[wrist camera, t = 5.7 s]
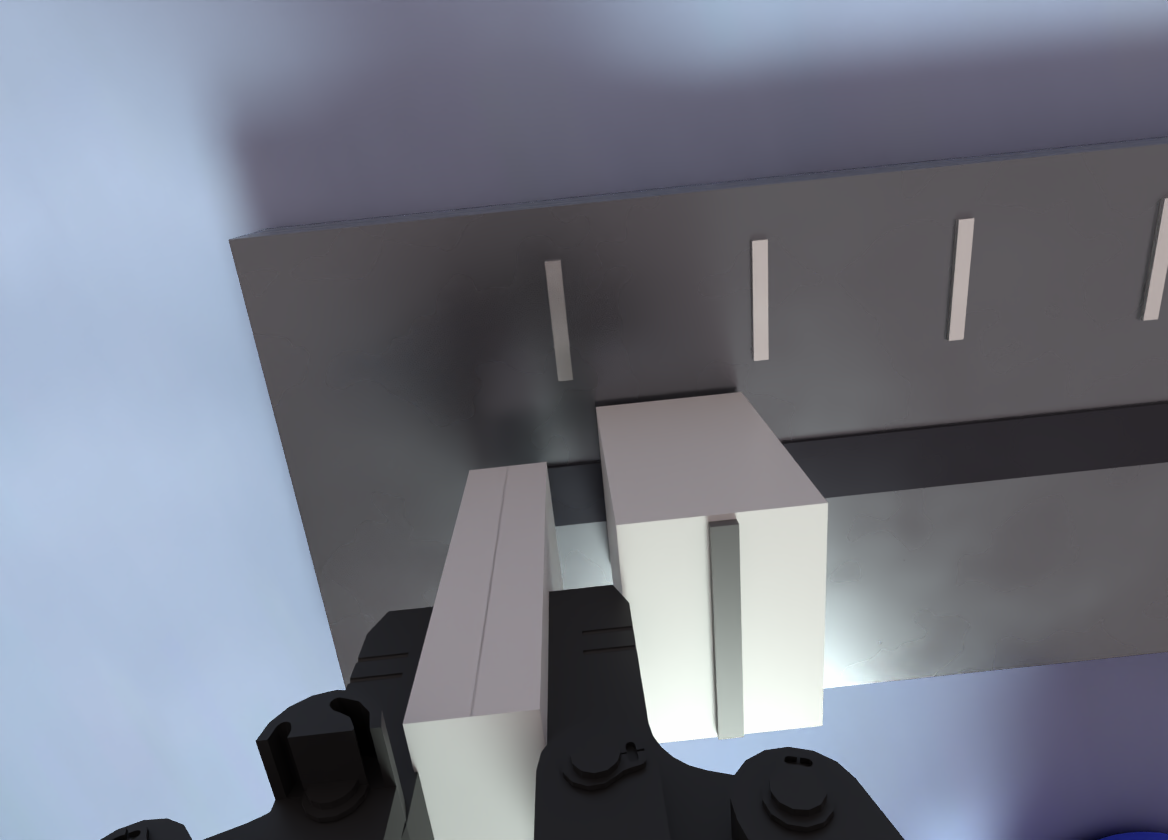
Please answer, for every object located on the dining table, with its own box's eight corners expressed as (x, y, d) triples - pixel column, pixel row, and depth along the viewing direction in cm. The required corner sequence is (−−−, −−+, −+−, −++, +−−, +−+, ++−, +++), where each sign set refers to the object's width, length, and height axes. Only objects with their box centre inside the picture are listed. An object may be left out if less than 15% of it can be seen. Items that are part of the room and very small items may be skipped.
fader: (611, 574, 16) (637, 753, 12) (595, 406, 15) (617, 530, 10) (744, 560, 16) (825, 733, 12) (741, 392, 15) (832, 508, 10)
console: (377, 681, 20) (357, 741, 18) (267, 228, 16) (226, 240, 14) (1470, 566, 20) (1571, 612, 18) (1654, 86, 16) (1812, 77, 14)
